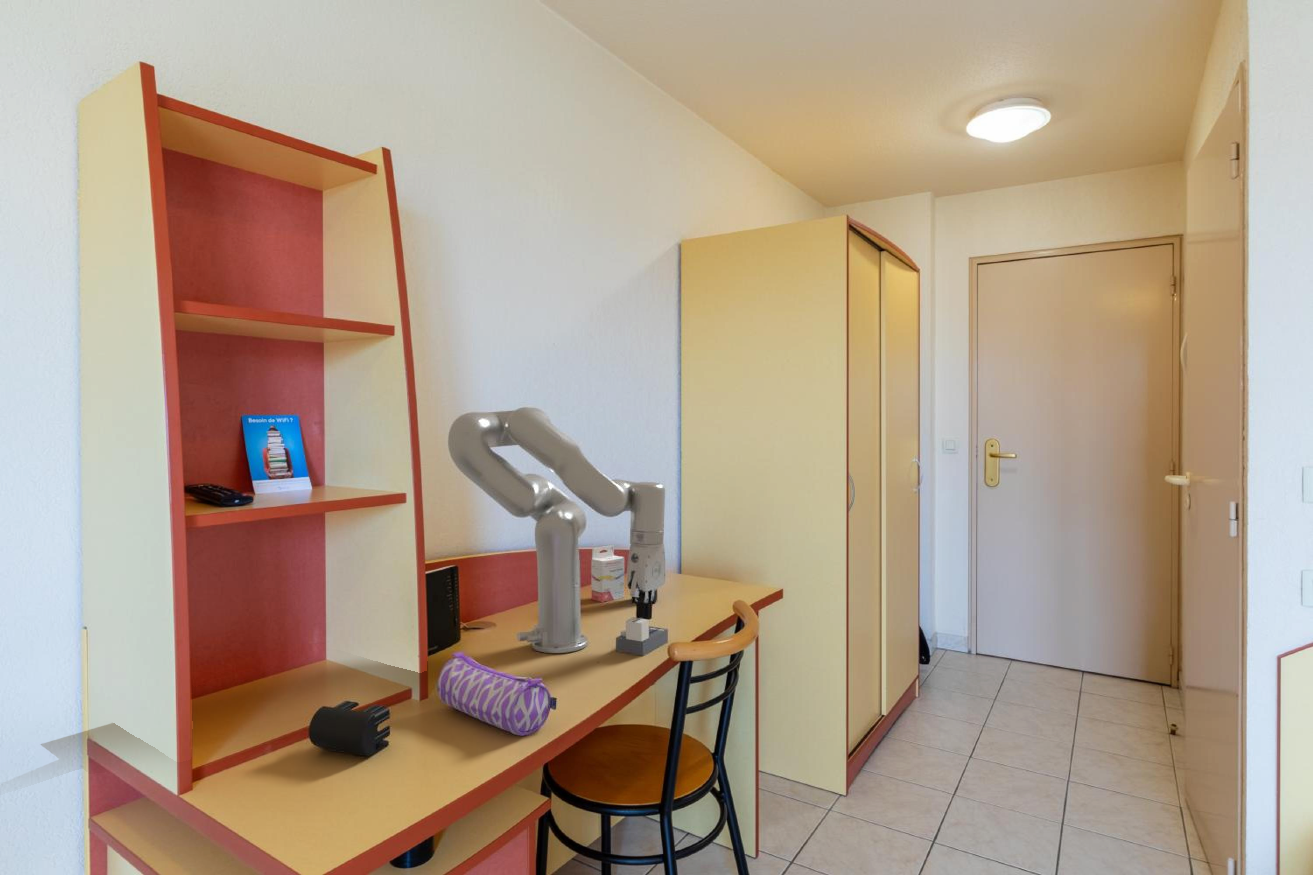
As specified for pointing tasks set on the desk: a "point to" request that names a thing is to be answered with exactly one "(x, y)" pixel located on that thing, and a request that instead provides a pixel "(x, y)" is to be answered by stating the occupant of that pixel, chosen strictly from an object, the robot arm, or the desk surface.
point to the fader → (637, 629)
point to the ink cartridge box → (606, 574)
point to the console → (642, 648)
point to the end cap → (350, 729)
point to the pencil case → (495, 695)
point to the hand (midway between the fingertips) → (643, 618)
